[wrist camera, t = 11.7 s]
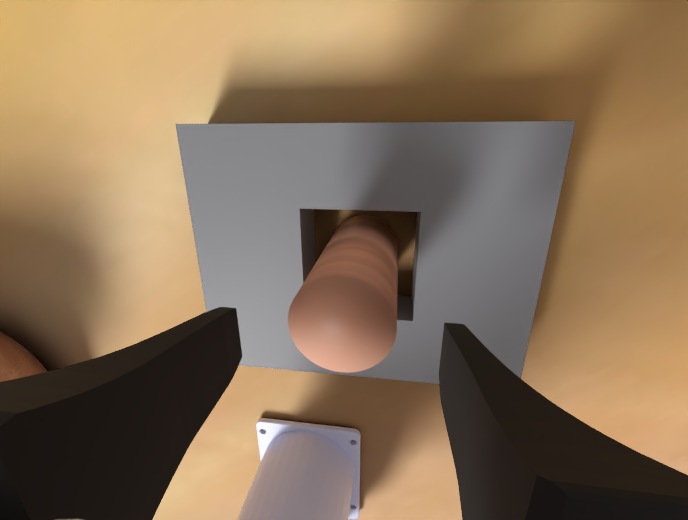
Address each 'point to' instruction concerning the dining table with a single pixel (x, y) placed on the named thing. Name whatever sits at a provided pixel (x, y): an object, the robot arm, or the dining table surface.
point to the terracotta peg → (349, 298)
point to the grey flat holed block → (378, 195)
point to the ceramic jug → (16, 360)
